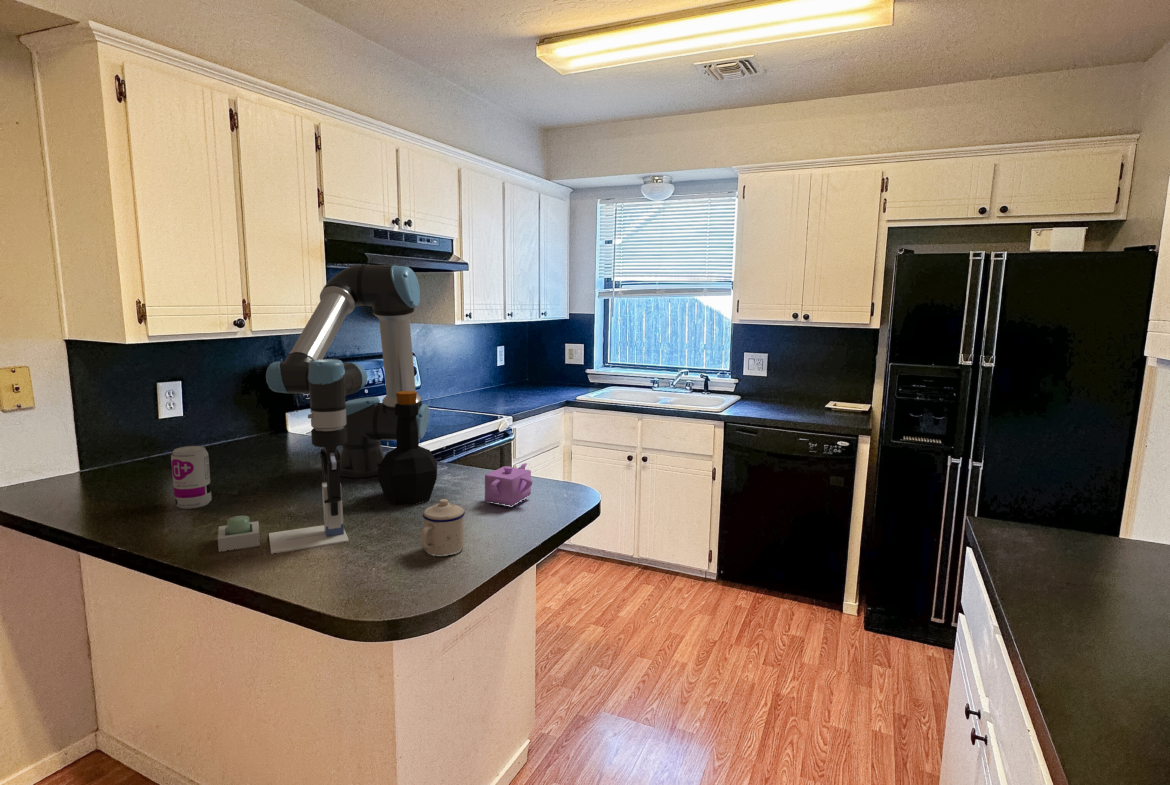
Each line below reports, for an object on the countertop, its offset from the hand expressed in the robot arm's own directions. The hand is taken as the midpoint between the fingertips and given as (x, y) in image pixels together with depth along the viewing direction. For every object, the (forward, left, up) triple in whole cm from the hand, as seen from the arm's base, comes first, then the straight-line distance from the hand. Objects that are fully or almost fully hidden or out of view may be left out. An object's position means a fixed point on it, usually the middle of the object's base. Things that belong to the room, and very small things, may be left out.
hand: (333, 524), depth 147 cm
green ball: (+19, -4, -1) cm, 20 cm away
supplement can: (+30, -37, -3) cm, 47 cm away
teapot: (-47, -4, -3) cm, 47 cm away
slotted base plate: (+5, 0, -3) cm, 6 cm away
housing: (+19, -4, -3) cm, 20 cm away
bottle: (-22, -19, -3) cm, 29 cm away
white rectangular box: (0, 0, -2) cm, 2 cm away
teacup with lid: (-20, +20, -3) cm, 28 cm away
